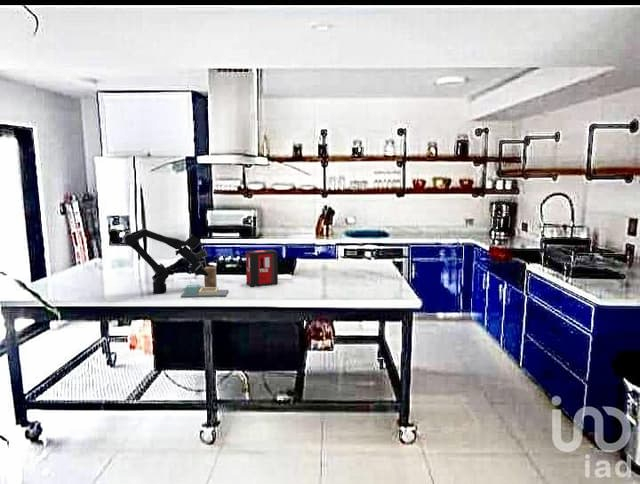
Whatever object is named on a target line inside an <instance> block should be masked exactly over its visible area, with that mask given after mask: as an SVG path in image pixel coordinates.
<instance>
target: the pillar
mask: <svg viewBox="0 0 640 484" xmlns="http://www.w3.org/2000/svg"><path fill="white" fill-rule="evenodd" d="M204 270H205V271H206V272H207V273H208V276H205V275H203V277H204V282H203V283H204V287H218V286H217V266H207V267H205V268H204Z"/></svg>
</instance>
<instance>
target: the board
mask: <svg viewBox="0 0 640 484" xmlns="http://www.w3.org/2000/svg"><path fill="white" fill-rule="evenodd" d="M228 293H229V289H219V287H218V286H217V287H205V286H201V287H200V289H199V284H187V285H186V286H185V288H184V291H183V293H181V295H180V298H184V299H185V298H186V299H187V298H225V297H226V298H227V297H228Z"/></svg>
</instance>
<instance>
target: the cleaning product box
mask: <svg viewBox="0 0 640 484" xmlns="http://www.w3.org/2000/svg"><path fill="white" fill-rule="evenodd" d="M278 263H279V261H278V251H277V250H274V249H257V250H246V251H245V269H246V270H245V271H246V273H245V274H246V285H247V286H249V288H257V287H259V288H260V287H267V286H276V285H277V284H278V285H279V282H278V281H279V280H278V279H279V278H278V277H279V276H278V275H279V270H278V269H279V266H278Z"/></svg>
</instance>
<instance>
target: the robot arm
mask: <svg viewBox="0 0 640 484" xmlns="http://www.w3.org/2000/svg"><path fill="white" fill-rule="evenodd" d="M146 237H147V238H148V239H152V240H155V241H157V242H161V243H163V244H166V245H167V246H169V247H171V248H172V249H175V256H178V255H180V256H181V257H182V258H183V259H185V262H186V263H189V264H190V265H191V266H190V271H191V272H193V273H197V274H198V275H203V276H204V275H205V276H208V273H207V272H206V271H205V270H204V268H205V267H208V266H207V263H206V262H207V261H206V256H207V255H208V252H207V250H206V249H204V248H201V249H199V251H198V252H197V253H196V252H193V251H192V250H195V249H196V248H197V247H198V246H199V245H200V244H201V243H202V241H201V240H200V239H199V238H198V237H196V236H195V235H194V234H190V236H189V237H188V238H186V240H181V239H179V238H177V237H173V236H166V235H162V234H160V233H158V232H157V233H156V232H155V231H152V230H149V229H146V228H141V229H139V230H136V231H133V232H131V233H130V232H126V233H125V234H124V235H123V236H122V241H123V243H125V244H126V245H128V246H129V247H130V248H132V249H133V250H134V251H135V252H136V253H137V254H138V255H139V256H140V257H141V258H142V259H143V260H144V261H145V262H146V263H147V265H149V266H150V268H151V270H152V271H153V273H154V275H152V277H151V279H152V295H159V294H163V295H164V294H166V292H167V283H166V281H167V279H168V277H169V275H170V274H169V269H167V267H165V265H164V264H163V263H162V262H161V263H157V262H156V261H155V259H154V258H153V257H152V256H151V255H150V254H149V253H148V252H147V251H146V250H145V249H144V248H143V247H142V246H141V244H140V243H139V240H141V239H143V238H146Z"/></svg>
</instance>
